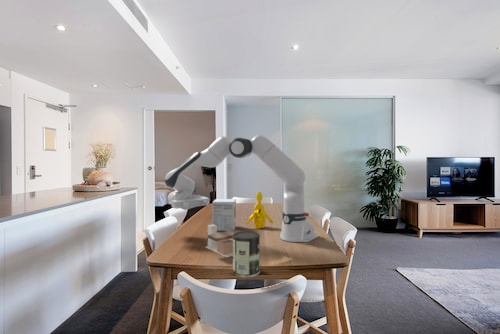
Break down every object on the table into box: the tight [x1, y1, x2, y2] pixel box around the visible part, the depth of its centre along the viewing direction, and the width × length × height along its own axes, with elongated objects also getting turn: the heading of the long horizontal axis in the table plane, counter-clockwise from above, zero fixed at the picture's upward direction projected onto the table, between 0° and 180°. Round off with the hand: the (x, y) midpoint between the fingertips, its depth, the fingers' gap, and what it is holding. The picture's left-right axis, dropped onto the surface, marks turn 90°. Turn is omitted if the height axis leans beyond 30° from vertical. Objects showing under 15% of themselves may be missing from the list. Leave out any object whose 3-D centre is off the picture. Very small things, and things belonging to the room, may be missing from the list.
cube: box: [217, 239, 233, 256], centre depth 120 cm, size 5×5×5 cm
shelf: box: [207, 229, 243, 241], centre depth 120 cm, size 15×7×10 cm, turn 130°
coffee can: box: [232, 231, 261, 278], centre depth 102 cm, size 10×10×14 cm
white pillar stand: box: [204, 223, 233, 258], centre depth 122 cm, size 6×18×11 cm, turn 40°
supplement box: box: [211, 198, 237, 232], centre depth 169 cm, size 13×13×18 cm
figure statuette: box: [245, 191, 275, 230], centre depth 172 cm, size 18×8×22 cm, turn 96°
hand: (198, 204), depth 137 cm, fingers open, 8 cm apart
